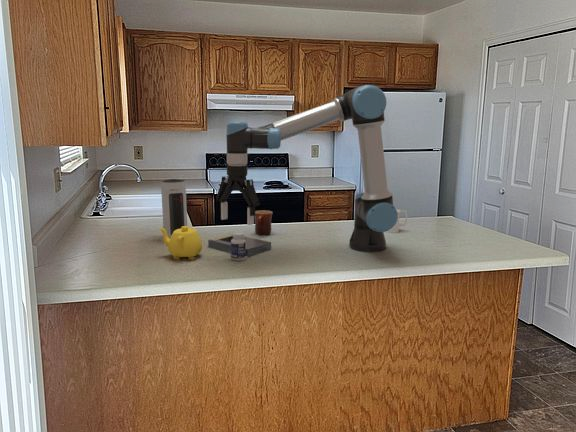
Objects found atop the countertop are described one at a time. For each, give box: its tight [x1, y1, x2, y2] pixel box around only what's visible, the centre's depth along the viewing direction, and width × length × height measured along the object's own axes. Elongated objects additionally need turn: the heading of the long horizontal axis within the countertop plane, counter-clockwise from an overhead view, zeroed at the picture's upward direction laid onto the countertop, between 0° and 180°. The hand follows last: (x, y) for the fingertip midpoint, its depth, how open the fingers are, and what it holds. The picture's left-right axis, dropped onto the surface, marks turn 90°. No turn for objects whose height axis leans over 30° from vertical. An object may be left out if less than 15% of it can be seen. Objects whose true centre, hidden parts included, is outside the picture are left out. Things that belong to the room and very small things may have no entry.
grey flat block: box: [207, 233, 272, 258], centre depth 198 cm, size 22×14×3 cm, turn 51°
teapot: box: [158, 225, 203, 261], centre depth 185 cm, size 14×14×12 cm
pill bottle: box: [230, 232, 246, 261], centre depth 183 cm, size 5×5×10 cm
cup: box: [384, 208, 408, 234], centre depth 230 cm, size 8×12×10 cm
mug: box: [254, 209, 273, 236], centre depth 220 cm, size 12×9×10 cm
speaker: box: [160, 178, 188, 239], centre depth 210 cm, size 11×10×26 cm
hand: (237, 221), depth 181 cm, fingers open, 13 cm apart
